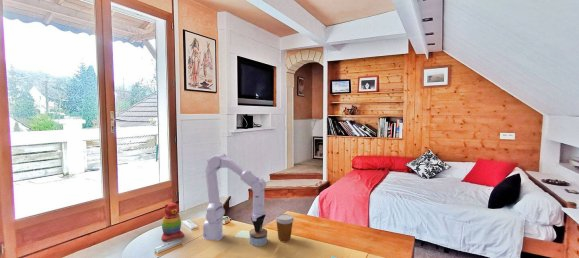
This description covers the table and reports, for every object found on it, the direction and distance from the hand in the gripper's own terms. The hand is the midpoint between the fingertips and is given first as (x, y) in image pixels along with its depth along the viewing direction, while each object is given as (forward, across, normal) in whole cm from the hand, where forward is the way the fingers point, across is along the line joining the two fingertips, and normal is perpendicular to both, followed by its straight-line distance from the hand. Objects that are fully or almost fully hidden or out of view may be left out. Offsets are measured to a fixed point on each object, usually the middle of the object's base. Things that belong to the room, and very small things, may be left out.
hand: (258, 230), depth 138 cm
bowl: (+7, 0, 0) cm, 7 cm away
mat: (+7, +7, +10) cm, 14 cm away
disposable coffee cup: (+7, +7, -12) cm, 16 cm away
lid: (+2, 0, 0) cm, 2 cm away
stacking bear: (+7, -3, +47) cm, 48 cm away
